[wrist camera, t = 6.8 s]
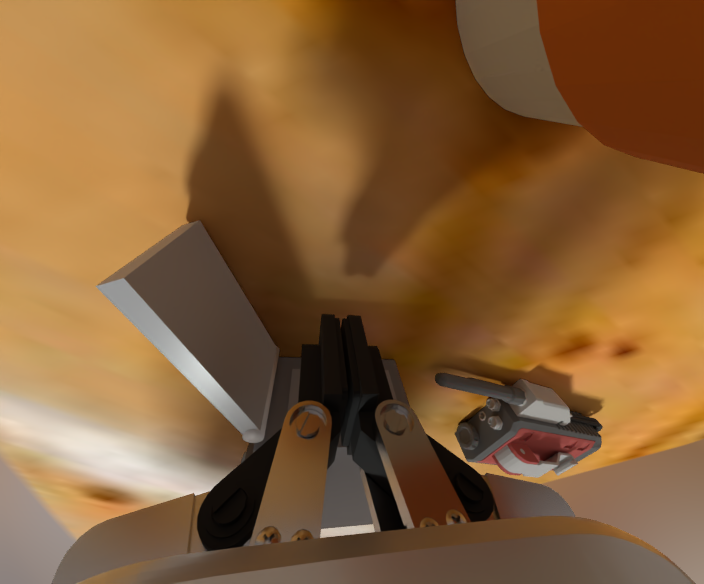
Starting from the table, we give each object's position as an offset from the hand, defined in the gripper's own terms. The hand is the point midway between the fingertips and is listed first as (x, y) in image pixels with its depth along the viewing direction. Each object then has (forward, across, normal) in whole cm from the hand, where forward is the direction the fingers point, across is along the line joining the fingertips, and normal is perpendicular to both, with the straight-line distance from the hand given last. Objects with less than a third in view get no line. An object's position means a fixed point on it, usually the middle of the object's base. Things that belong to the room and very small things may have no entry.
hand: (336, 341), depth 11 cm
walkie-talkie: (+4, -16, +11) cm, 20 cm away
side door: (+3, +5, 0) cm, 6 cm away
